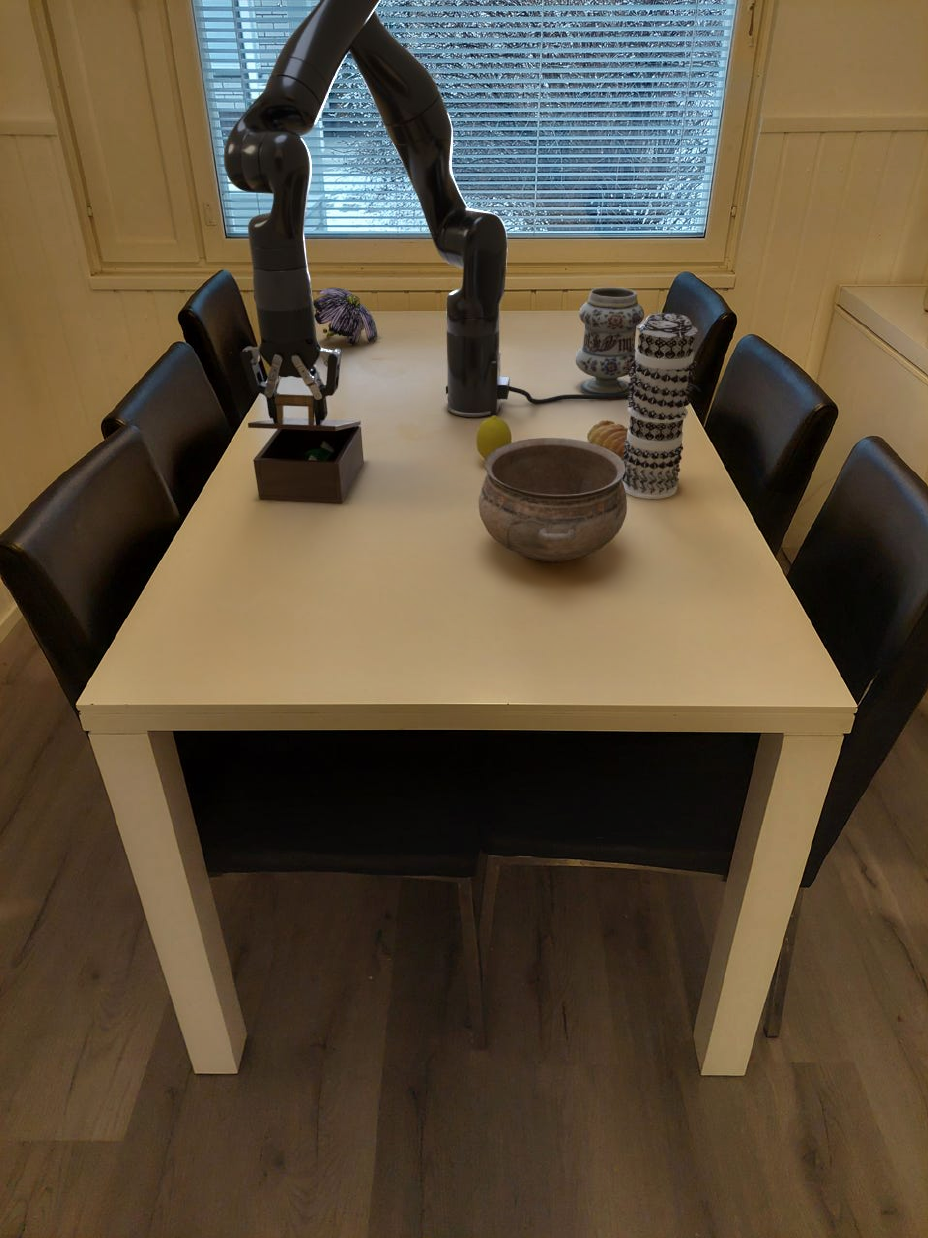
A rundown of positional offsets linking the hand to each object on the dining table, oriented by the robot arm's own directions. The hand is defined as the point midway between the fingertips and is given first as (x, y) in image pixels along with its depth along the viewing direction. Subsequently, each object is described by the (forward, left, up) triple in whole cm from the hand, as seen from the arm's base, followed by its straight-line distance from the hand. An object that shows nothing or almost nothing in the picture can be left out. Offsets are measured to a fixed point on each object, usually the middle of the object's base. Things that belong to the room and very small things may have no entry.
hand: (298, 420), depth 126 cm
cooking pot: (-37, +14, -11) cm, 41 cm away
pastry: (-46, -21, -11) cm, 52 cm away
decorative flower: (+12, -77, -11) cm, 78 cm away
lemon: (-27, -13, -11) cm, 32 cm away
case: (0, -4, -11) cm, 12 cm away
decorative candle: (-51, -7, -11) cm, 53 cm away
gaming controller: (0, -4, -10) cm, 11 cm away
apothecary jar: (-45, -50, -11) cm, 68 cm away
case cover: (0, -4, -2) cm, 4 cm away
